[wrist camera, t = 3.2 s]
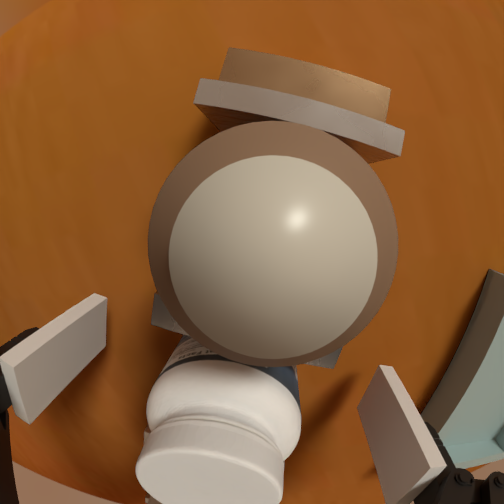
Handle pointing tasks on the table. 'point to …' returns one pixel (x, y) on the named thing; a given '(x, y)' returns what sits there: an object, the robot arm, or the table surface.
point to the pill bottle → (218, 429)
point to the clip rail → (294, 119)
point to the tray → (474, 386)
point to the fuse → (273, 243)
